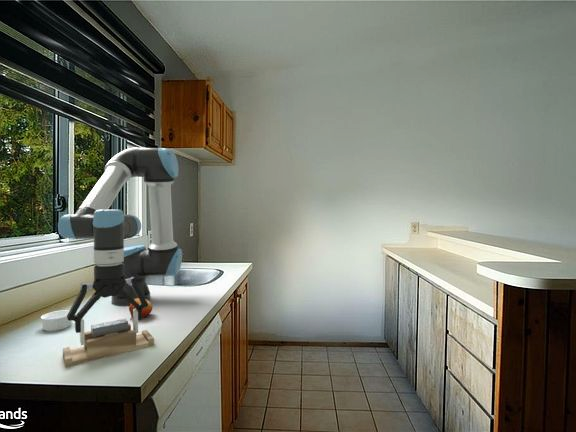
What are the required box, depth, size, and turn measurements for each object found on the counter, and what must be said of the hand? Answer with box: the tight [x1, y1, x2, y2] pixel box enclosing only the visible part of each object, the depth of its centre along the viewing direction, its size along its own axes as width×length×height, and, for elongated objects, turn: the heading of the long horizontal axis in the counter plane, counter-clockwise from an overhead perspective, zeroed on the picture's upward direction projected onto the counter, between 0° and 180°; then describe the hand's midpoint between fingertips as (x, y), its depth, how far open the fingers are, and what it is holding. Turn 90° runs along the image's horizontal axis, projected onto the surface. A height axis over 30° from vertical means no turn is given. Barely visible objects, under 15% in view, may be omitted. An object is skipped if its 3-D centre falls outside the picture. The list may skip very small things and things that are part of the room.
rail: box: [62, 322, 155, 368], centre depth 94 cm, size 8×22×5 cm, turn 128°
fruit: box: [128, 298, 154, 321], centre depth 120 cm, size 8×8×8 cm
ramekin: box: [40, 309, 73, 332], centre depth 111 cm, size 9×9×4 cm
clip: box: [90, 318, 129, 339], centre depth 94 cm, size 3×9×6 cm, turn 128°
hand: (110, 337), depth 94 cm, fingers open, 13 cm apart
